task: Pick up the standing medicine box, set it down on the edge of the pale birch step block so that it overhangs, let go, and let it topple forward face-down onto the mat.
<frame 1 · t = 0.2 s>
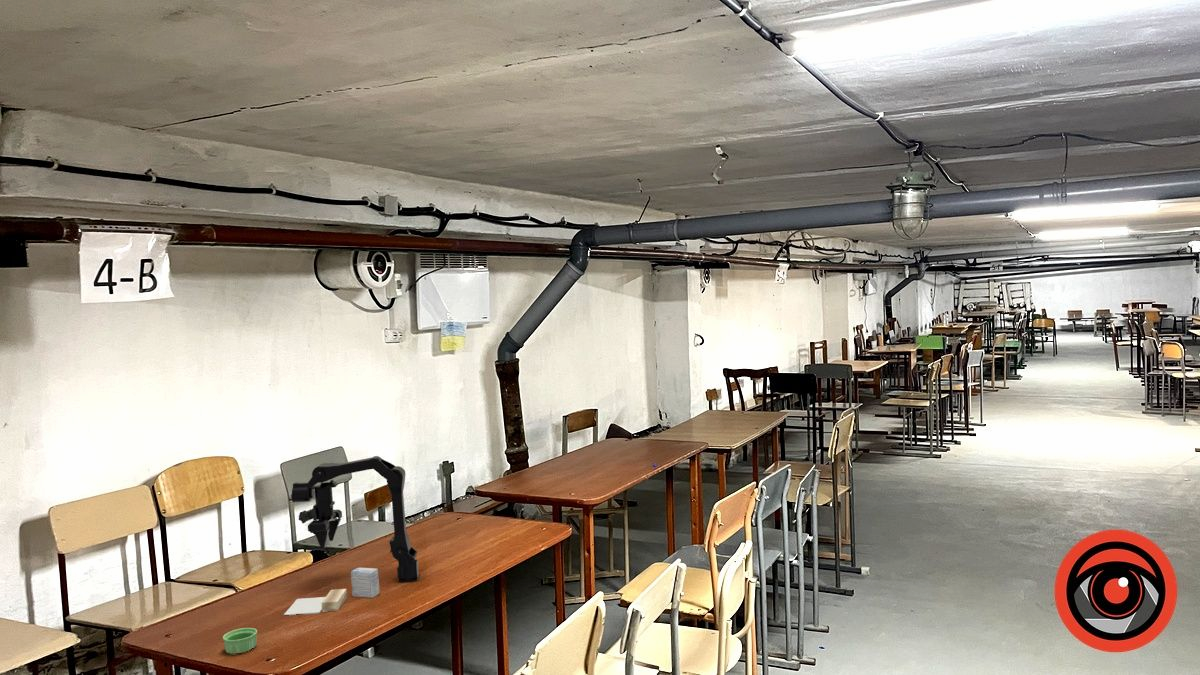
hand: (327, 544, 281), 14 cm above the table, tool pointing down, fingers open, 9 cm apart
medicine box: (366, 596, 269), on the table
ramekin: (241, 649, 229), on the table
step block: (334, 604, 261), on the table
mat: (308, 606, 261), on the table
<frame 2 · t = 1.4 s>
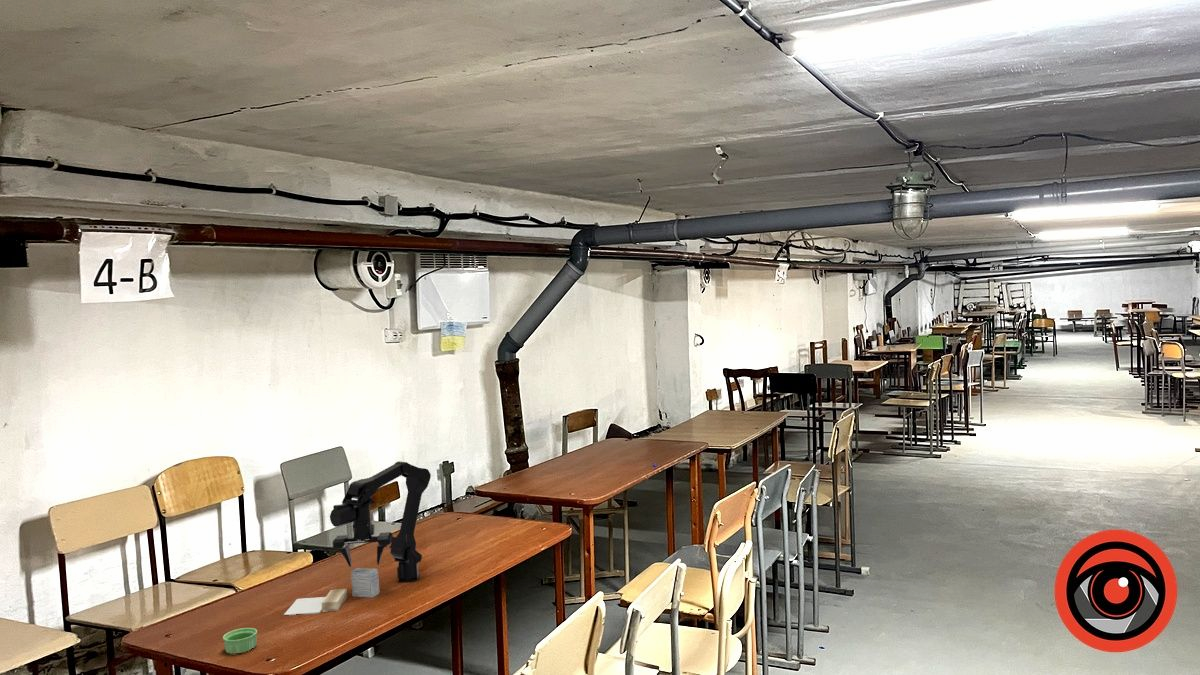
hand: (364, 565, 269), 10 cm above the table, tool pointing down, fingers open, 9 cm apart
nothing on the table moved.
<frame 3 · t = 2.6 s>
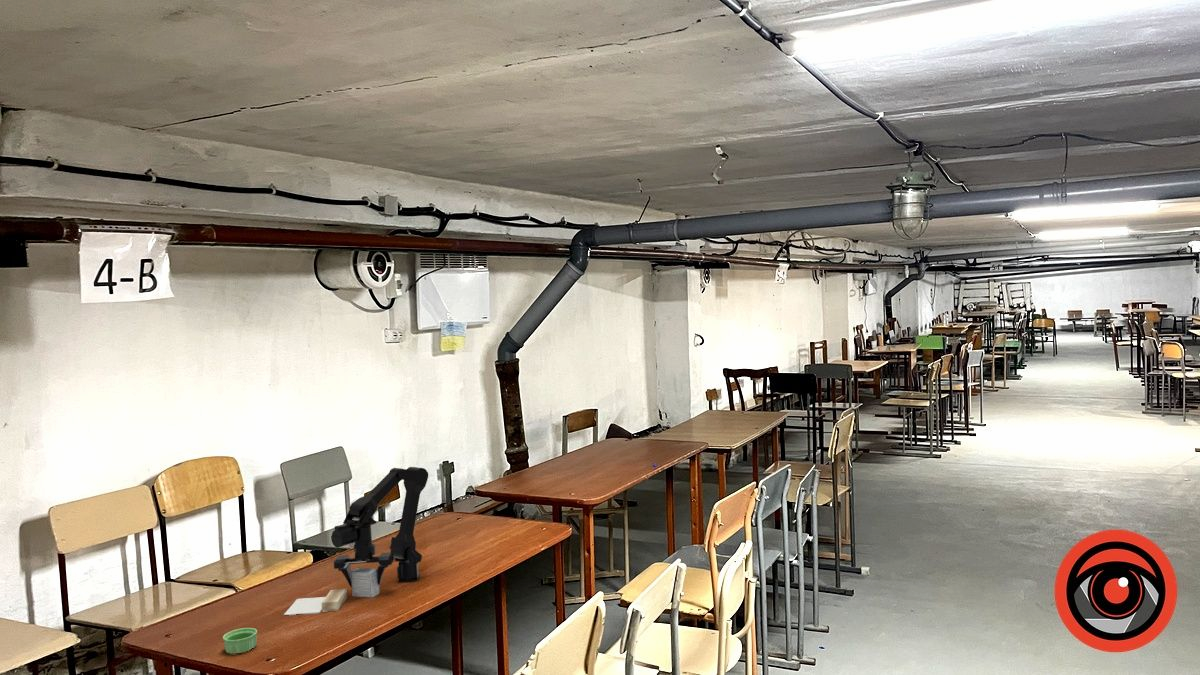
hand: (365, 585, 269), 3 cm above the table, tool pointing down, fingers closed on medicine box, 9 cm apart
medicine box: (366, 595, 269), on the table, touching gripper
everything else where it was.
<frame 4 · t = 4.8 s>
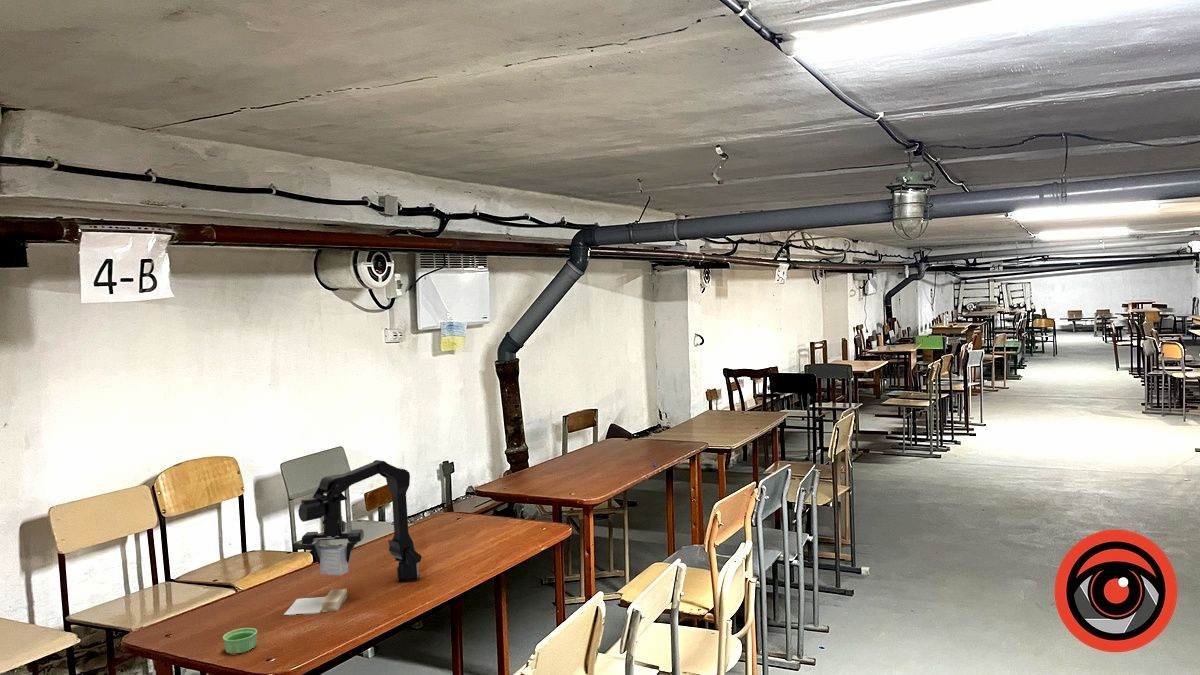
hand: (334, 562, 263), 13 cm above the table, tool pointing down, fingers closed on medicine box, 9 cm apart
medicine box: (334, 573, 263), point 10 cm above the table, touching gripper
everything else where it was.
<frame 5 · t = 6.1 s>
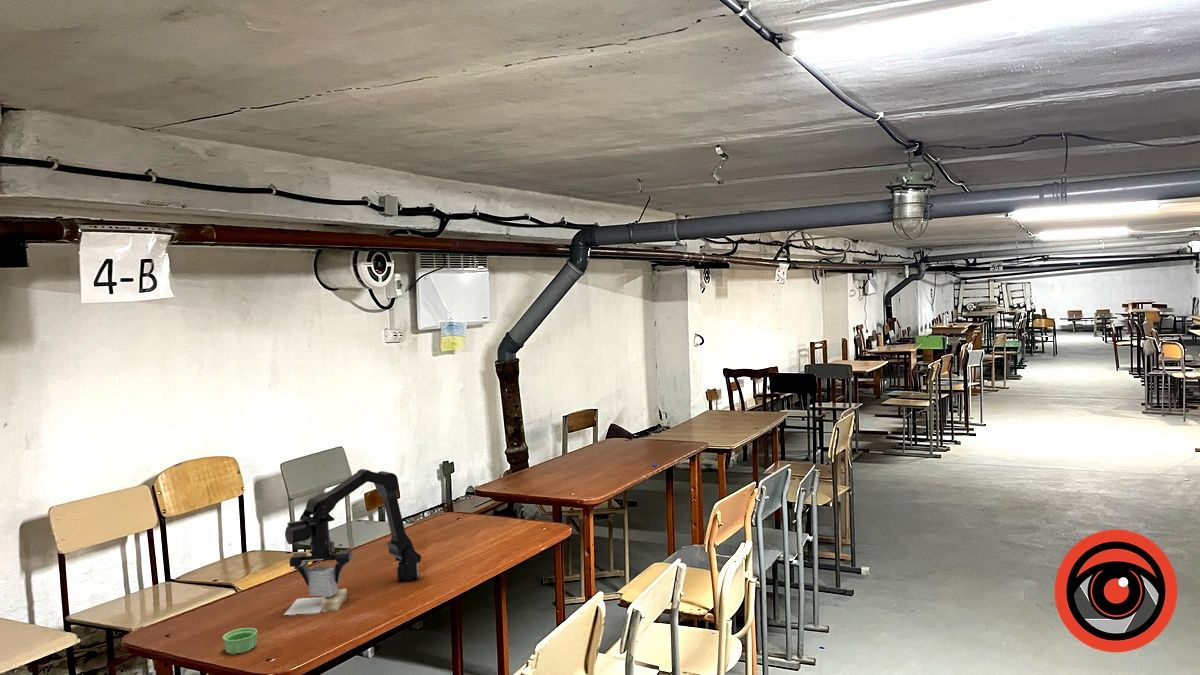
hand: (323, 584, 261), 7 cm above the table, tool pointing down, fingers closed on medicine box, 9 cm apart
medicine box: (323, 595, 261), point 3 cm above the table, touching gripper
everything else where it was.
when the fingers open (6 cm above the table, at t = 6.9 s): medicine box stays where it is, resting on step block.
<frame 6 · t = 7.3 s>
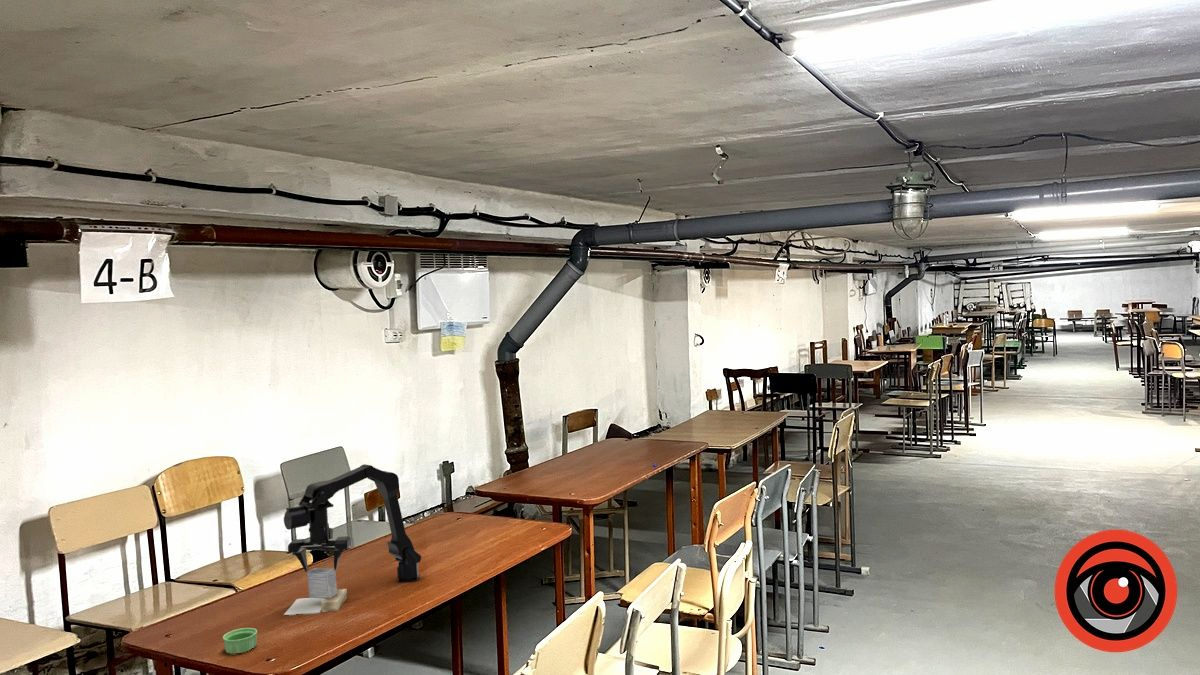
hand: (321, 570, 261), 12 cm above the table, tool pointing down, fingers open, 9 cm apart
medicine box: (323, 596, 261), point 3 cm above the table, touching step block
everything else where it was.
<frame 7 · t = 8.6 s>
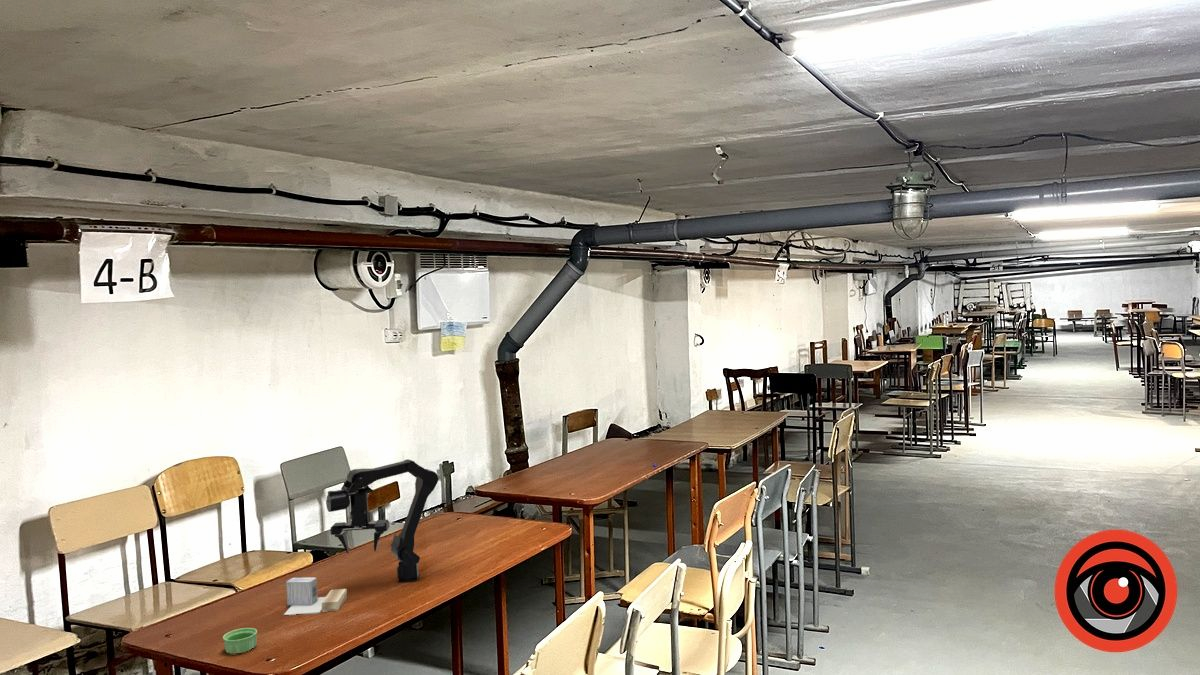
hand: (361, 552, 274), 13 cm above the table, tool pointing down, fingers open, 9 cm apart
medicine box: (315, 591, 262), point 4 cm above the table, touching mat
everything else where it was.
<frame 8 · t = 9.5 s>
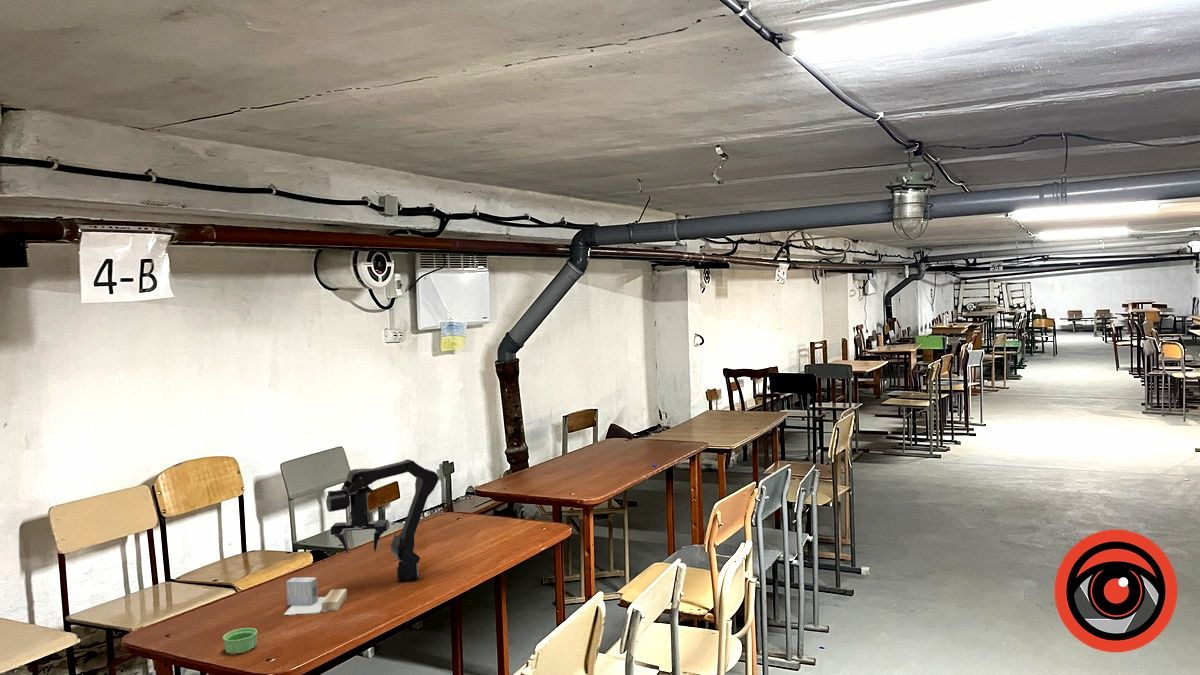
hand: (361, 551, 274), 13 cm above the table, tool pointing down, fingers open, 9 cm apart
nothing on the table moved.
at the end: medicine box tilted 90°; medicine box inside the target area (2.6 cm from its centre), point 4.3 cm above the table; the gripper is holding nothing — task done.
